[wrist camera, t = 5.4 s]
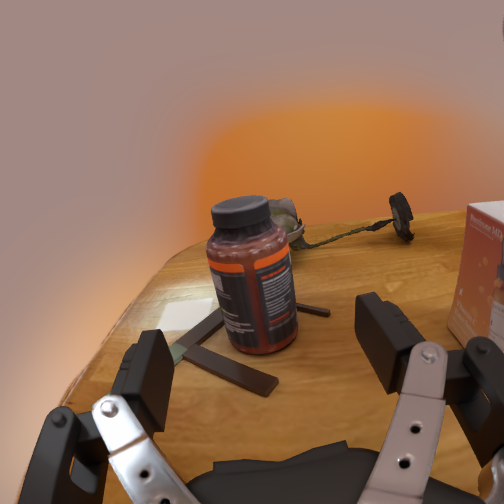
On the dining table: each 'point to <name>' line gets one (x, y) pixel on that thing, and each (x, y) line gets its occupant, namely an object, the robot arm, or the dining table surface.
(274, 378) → the brown green e shape
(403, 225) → the artificial flower
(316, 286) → the dining table surface
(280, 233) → the supplement bottle
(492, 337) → the small box
